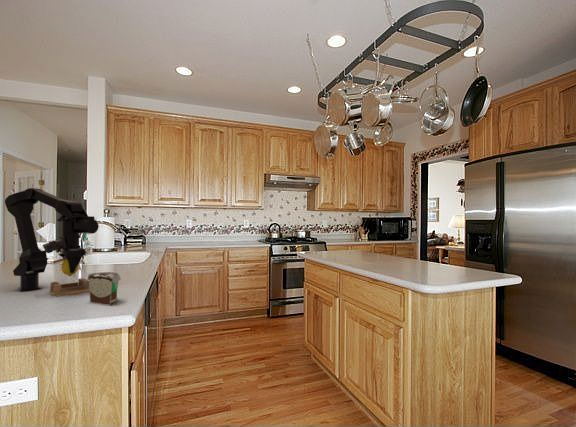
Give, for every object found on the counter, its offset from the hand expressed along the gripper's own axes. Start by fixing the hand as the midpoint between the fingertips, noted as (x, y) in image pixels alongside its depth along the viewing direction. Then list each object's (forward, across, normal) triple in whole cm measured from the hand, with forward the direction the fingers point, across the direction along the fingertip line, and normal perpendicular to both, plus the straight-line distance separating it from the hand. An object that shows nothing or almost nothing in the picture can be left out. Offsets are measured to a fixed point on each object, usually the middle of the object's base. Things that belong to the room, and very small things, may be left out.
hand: (69, 271), depth 119 cm
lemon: (+2, 0, 0) cm, 2 cm away
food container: (+8, +26, +6) cm, 28 cm away
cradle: (+8, 0, 0) cm, 8 cm away
